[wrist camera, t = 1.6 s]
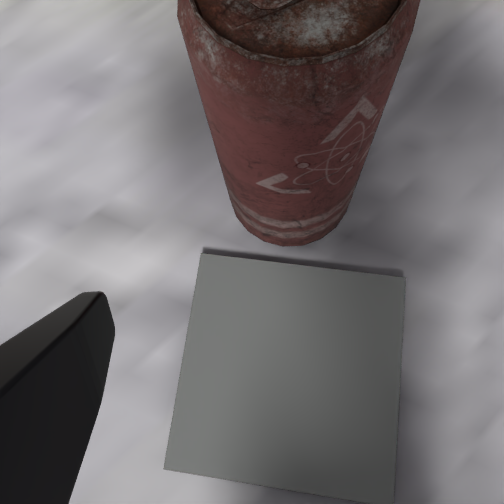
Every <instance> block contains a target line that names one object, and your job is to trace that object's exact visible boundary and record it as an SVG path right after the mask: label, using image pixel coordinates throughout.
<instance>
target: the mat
mask: <svg viewBox="0 0 504 504" xmlns="http://www.w3.org/2000/svg"><path fill="white" fill-rule="evenodd" d="M405 286H406V278H405V277H396V276H388V275H380V274H371V273H363V272H354V271H346V270H338V269H329V268H321V267H313V266H304V265H296V264H287V263H279V262H271V261H262V260H254V259H246V258H237V257H229V256H220V255H212V254H204V253H201V256H200V262H199V268H198V273H197V279H196V285H195V291H194V296H193V302H192V308H191V313H190V319H189V325H188V331H187V336H186V342H185V348H184V354H183V359H182V365H181V371H180V377H179V382H178V388H177V394H176V400H175V405H174V411H173V417H172V422H171V428H170V434H169V440H168V445H167V451H166V457H165V463H164V468H163V469H165V470H171V471H177V472H183V473H189V474H195V475H201V476H206V477H212V478H218V479H224V480H230V481H236V482H242V483H248V484H254V485H260V486H266V487H272V488H278V489H284V490H290V491H296V492H302V493H308V494H314V495H320V496H326V497H332V498H338V499H344V500H350V501H356V502H362V503H368V504H394V487H395V469H396V450H397V432H398V414H399V396H400V377H401V359H402V341H403V323H404V304H405Z"/></svg>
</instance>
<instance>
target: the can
mask: <svg viewBox="0 0 504 504" xmlns="http://www.w3.org/2000/svg"><path fill="white" fill-rule="evenodd" d="M419 3H420V0H178V12H177V17H178V20H179V24H180V27H181V31H182V34H183V37H184V41H185V44H186V48H187V51H188V55H189V58H190V62H191V65H192V69H193V72H194V76H195V79H196V83H197V86H198V89H199V93H200V96H201V100H202V103H203V107H204V110H205V114H206V117H207V121H208V124H209V128H210V131H211V135H212V138H213V142H214V145H215V148H216V152H217V155H218V159H219V162H220V166H221V169H222V173H223V176H224V180H225V183H226V187H227V190H228V194H229V197H230V200H231V203H232V206H233V209H234V211H235V214H236V217H237V218H238V219H239V221H240V222H241V223H242V224H243V226H244V227H245V228H246V229H247V230H248V231H249V232H250V233H252V234H253V235H255V236H256V237H258V238H260V239H261V240H263V241H265V242H269V243H272V244H276V245H280V246H302V245H305V244H308V243H311V242H314V241H316V240H319V239H321V238H323V237H324V236H325V235H327V234H328V233H329V232H330V231H332V230H333V229H334V228H336V226H337V225H338V223H339V222H340V220H341V219H342V217H343V216H344V215H345V213H346V211H347V208H348V206H349V203H350V200H351V197H352V195H353V192H354V189H355V187H356V184H357V181H358V178H359V176H360V173H361V170H362V168H363V165H364V162H365V159H366V157H367V154H368V151H369V148H370V146H371V143H372V140H373V138H374V135H375V132H376V129H377V127H378V124H379V121H380V119H381V116H382V113H383V110H384V108H385V105H386V102H387V99H388V97H389V94H390V91H391V89H392V86H393V83H394V80H395V78H396V75H397V72H398V70H399V67H400V64H401V61H402V59H403V56H404V53H405V50H406V48H407V45H408V42H409V40H410V37H411V34H412V31H413V27H414V23H415V19H416V15H417V11H418V7H419Z"/></svg>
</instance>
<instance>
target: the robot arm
mask: <svg viewBox="0 0 504 504" xmlns="http://www.w3.org/2000/svg"><path fill="white" fill-rule="evenodd" d="M114 337H115V326H114V322H113V318H112V315H111V311H110V307H109V304H108V300H107V297H106V295H105V294H104V293H103V292H101V291H97V292H84V293H81V294H79V295H78V296H76V297H75V298H73V299H71V300H70V301H68V302H67V303H65V304H64V305H62V306H61V307H59V308H57V309H56V310H54V311H53V312H51V313H50V314H48V315H47V316H45V317H44V318H42V319H40V320H39V321H37V322H36V323H34V324H33V325H31V326H30V327H28V328H26V329H25V330H23V331H22V332H20V333H19V334H17V335H16V336H14V337H12V338H11V339H9V340H8V341H6V342H5V343H3V344H2V345H0V504H69V501H70V498H71V494H72V491H73V488H74V485H75V482H76V479H77V476H78V473H79V470H80V467H81V464H82V461H83V458H84V455H85V452H86V449H87V446H88V443H89V440H90V436H91V433H92V430H93V427H94V424H95V421H96V418H97V415H98V412H99V408H100V405H101V401H102V397H103V392H104V387H105V382H106V377H107V372H108V367H109V362H110V357H111V352H112V347H113V342H114Z"/></svg>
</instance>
